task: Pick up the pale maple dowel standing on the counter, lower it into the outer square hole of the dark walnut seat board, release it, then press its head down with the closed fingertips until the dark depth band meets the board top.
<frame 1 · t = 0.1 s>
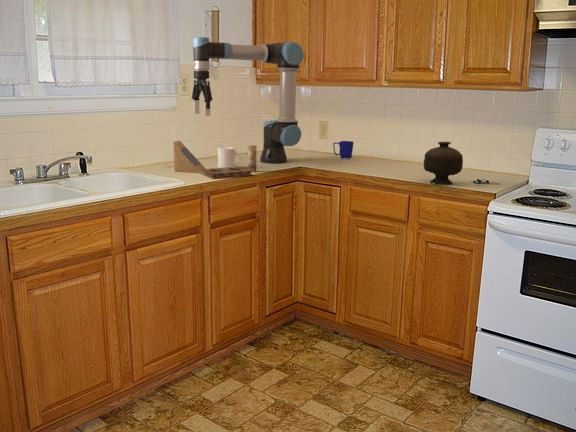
hand: (202, 114, 283), 28 cm above the table, fingers open, 13 cm apart
board: (226, 175, 279), on the table
peg: (252, 171, 291), on the table
pot: (441, 183, 271), on the table
mug 2: (342, 158, 346), on the table
mug: (229, 169, 298), on the table
sandwich container: (191, 172, 287), on the table
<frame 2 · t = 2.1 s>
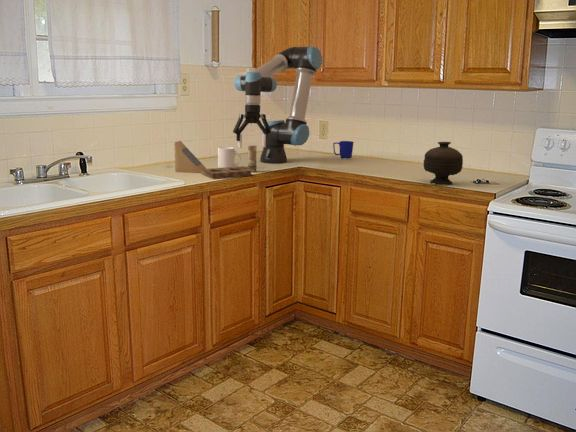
hand: (251, 147, 287), 12 cm above the table, fingers open, 13 cm apart
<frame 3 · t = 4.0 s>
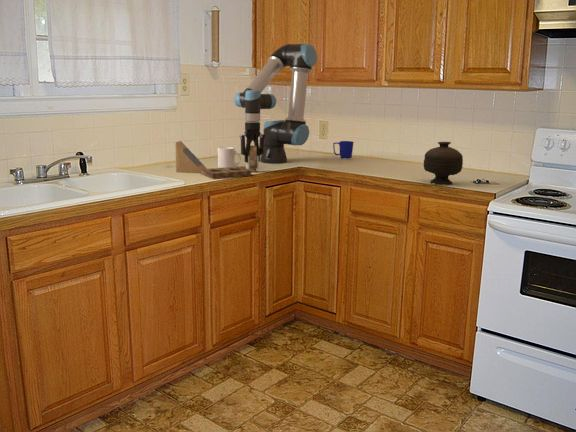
hand: (252, 168, 290), 2 cm above the table, fingers closed on peg, 4 cm apart
peg: (252, 171, 291), on the table, touching gripper
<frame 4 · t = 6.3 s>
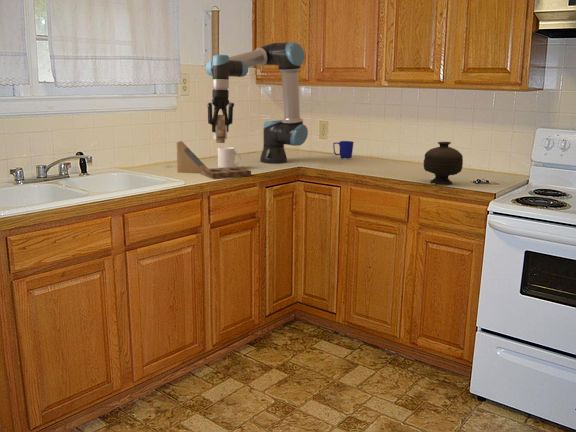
hand: (220, 139, 273), 18 cm above the table, fingers closed on peg, 4 cm apart
peg: (220, 142, 274), point 16 cm above the table, touching gripper
when the fingers open (3 cm above the table, at t = 8.7 s): peg drops 2 cm, resting in board.
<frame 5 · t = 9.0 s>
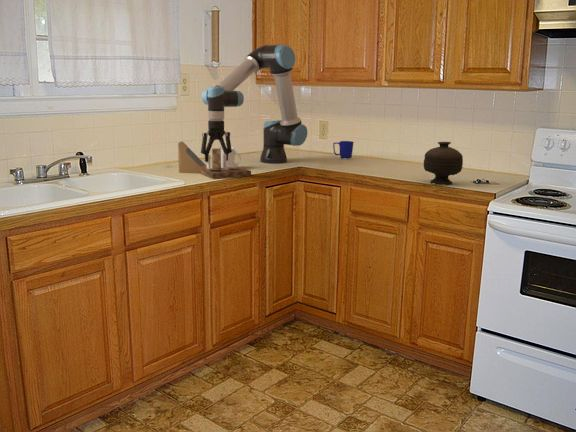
hand: (216, 168, 275), 4 cm above the table, fingers open, 8 cm apart
peg: (216, 175, 276), resting in board
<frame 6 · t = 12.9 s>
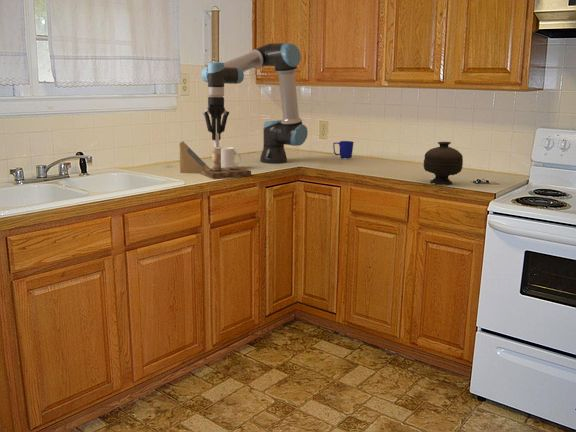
hand: (216, 146, 273), 14 cm above the table, fingers closed
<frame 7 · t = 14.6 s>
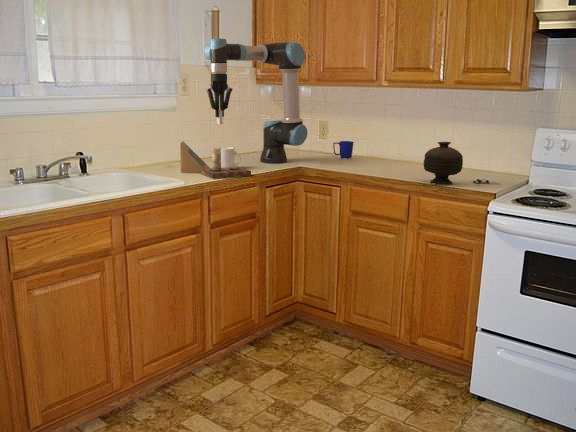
hand: (219, 124, 273), 25 cm above the table, fingers closed
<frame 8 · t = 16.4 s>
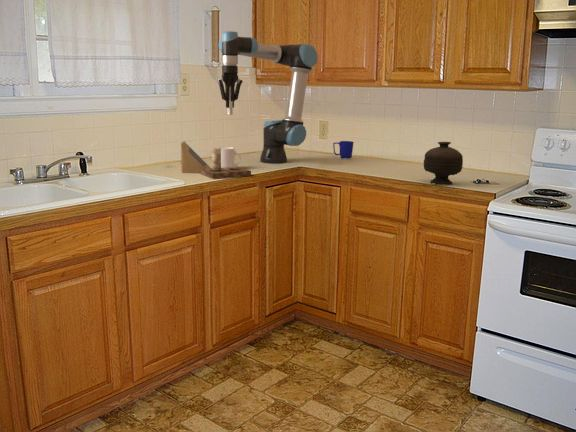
hand: (229, 114, 282), 28 cm above the table, fingers closed
at the end: peg 0.0 cm from the target spot on the board, point 0.0 cm above the board's base; peg tilted 0°; the gripper is holding nothing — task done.
